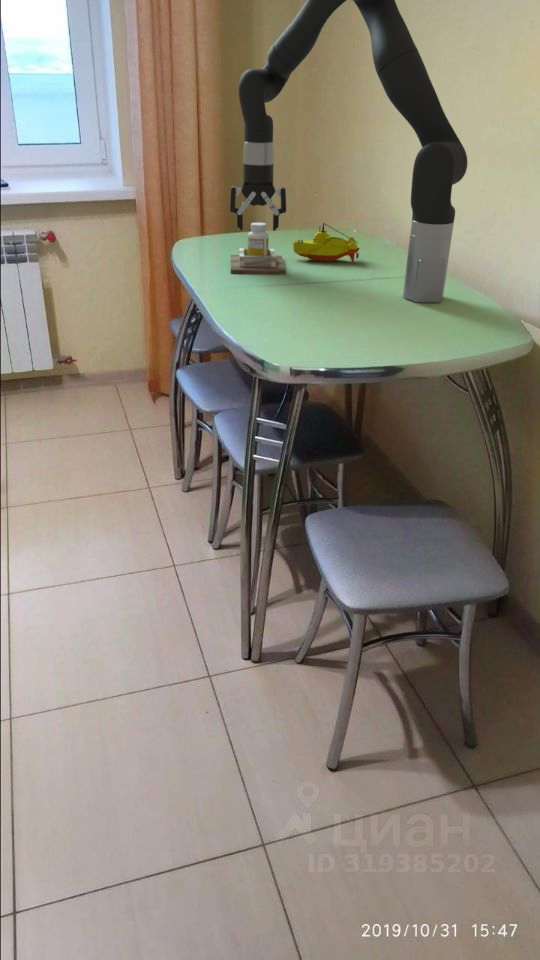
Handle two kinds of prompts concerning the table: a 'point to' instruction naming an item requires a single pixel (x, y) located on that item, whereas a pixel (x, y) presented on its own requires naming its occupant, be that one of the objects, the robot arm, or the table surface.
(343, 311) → the table surface
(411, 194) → the robot arm
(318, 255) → the toy boat
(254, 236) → the supplement bottle
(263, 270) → the jig board
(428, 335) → the table surface
